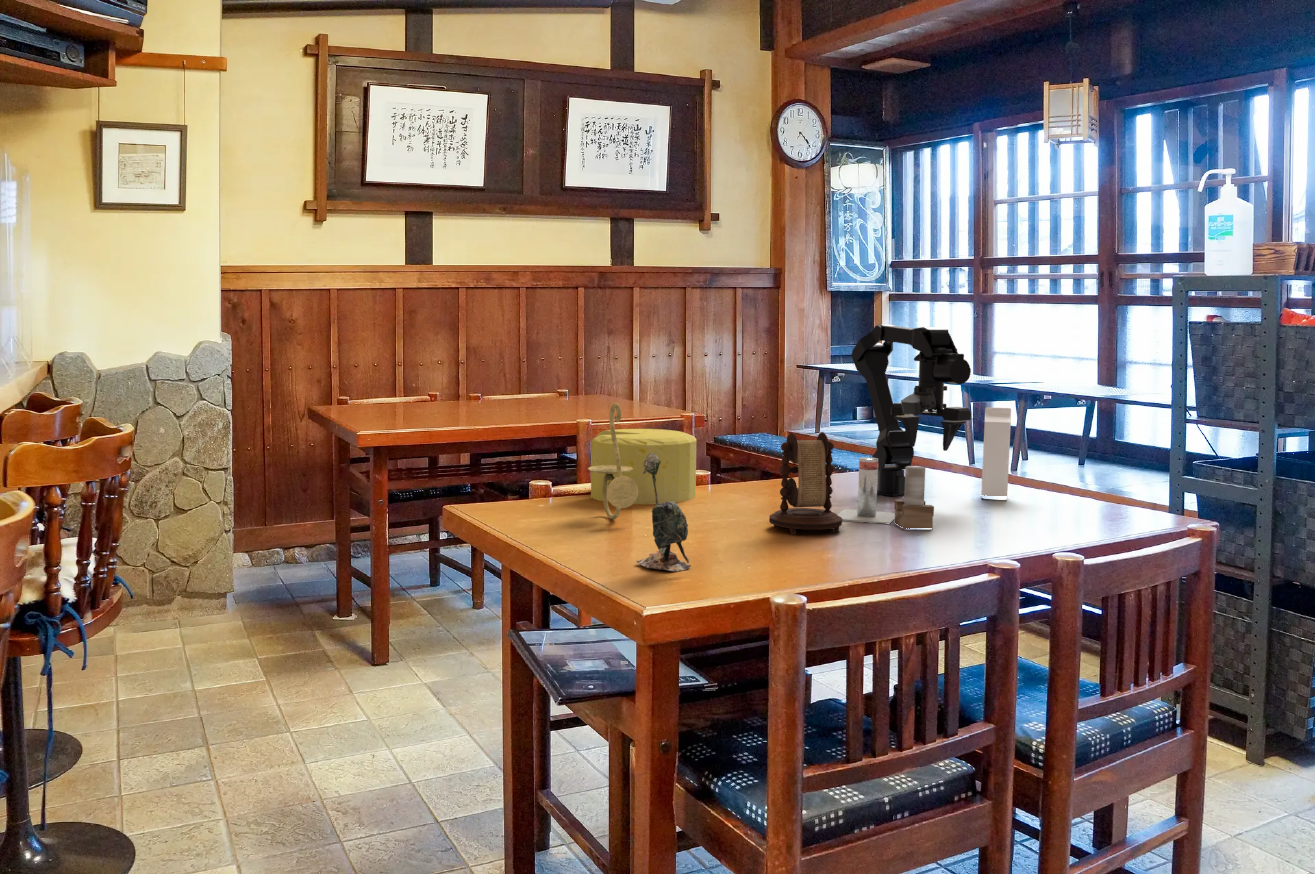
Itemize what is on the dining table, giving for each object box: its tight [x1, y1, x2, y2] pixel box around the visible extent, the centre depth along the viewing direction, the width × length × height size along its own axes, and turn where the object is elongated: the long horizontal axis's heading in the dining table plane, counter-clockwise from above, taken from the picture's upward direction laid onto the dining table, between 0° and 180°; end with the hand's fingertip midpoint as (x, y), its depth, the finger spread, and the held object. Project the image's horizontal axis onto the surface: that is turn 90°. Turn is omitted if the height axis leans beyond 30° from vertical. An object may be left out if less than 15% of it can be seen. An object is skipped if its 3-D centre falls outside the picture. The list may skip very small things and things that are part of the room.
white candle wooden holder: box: [894, 465, 935, 530], centre depth 228 cm, size 8×6×12 cm
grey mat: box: [837, 508, 895, 524], centre depth 239 cm, size 12×12×1 cm
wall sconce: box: [587, 402, 638, 521], centre depth 232 cm, size 14×10×25 cm
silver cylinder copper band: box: [856, 456, 878, 517], centre depth 238 cm, size 4×4×12 cm
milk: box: [980, 406, 1012, 497], centre depth 265 cm, size 6×6×22 cm
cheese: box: [590, 428, 697, 505], centre depth 264 cm, size 26×26×15 cm
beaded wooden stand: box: [768, 432, 843, 536], centre depth 224 cm, size 15×15×20 cm
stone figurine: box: [636, 453, 692, 573], centre depth 188 cm, size 8×11×20 cm
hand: (928, 448), depth 256 cm, fingers open, 9 cm apart
